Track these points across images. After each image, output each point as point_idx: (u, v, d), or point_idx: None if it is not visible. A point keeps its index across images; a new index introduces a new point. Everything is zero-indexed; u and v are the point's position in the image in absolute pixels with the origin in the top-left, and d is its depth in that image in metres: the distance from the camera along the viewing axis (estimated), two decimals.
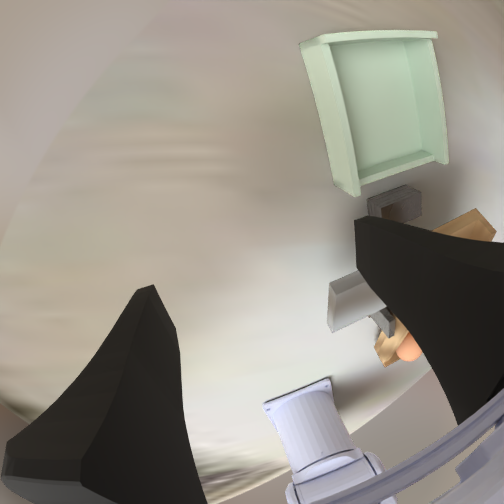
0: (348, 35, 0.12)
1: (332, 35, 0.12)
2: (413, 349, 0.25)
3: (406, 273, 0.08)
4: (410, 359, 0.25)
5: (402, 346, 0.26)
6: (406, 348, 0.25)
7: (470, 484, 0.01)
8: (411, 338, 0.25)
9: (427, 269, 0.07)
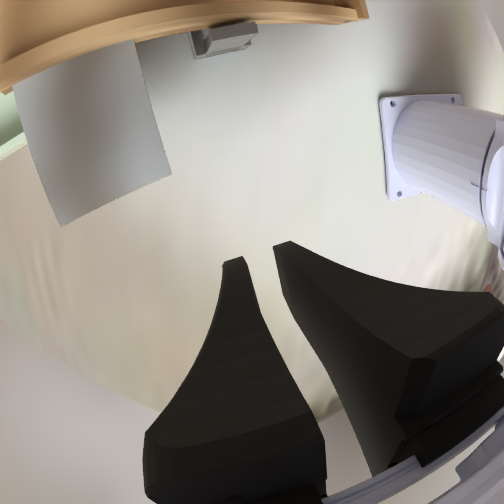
0: None
1: None
2: None
3: (313, 311, 0.08)
4: None
5: None
6: None
7: (470, 484, 0.01)
8: None
9: (326, 312, 0.07)
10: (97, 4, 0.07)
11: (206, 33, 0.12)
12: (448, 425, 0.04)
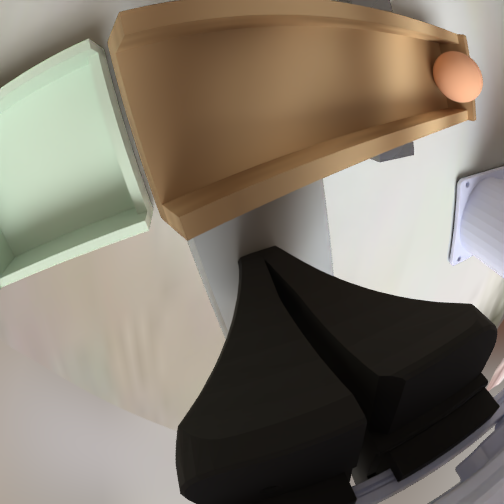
0: None
1: None
2: (462, 83, 0.10)
3: (295, 318, 0.08)
4: (477, 91, 0.11)
5: (450, 95, 0.12)
6: (456, 92, 0.11)
7: (470, 484, 0.01)
8: (442, 76, 0.11)
9: (305, 320, 0.07)
10: (283, 105, 0.08)
11: None
12: (425, 440, 0.04)
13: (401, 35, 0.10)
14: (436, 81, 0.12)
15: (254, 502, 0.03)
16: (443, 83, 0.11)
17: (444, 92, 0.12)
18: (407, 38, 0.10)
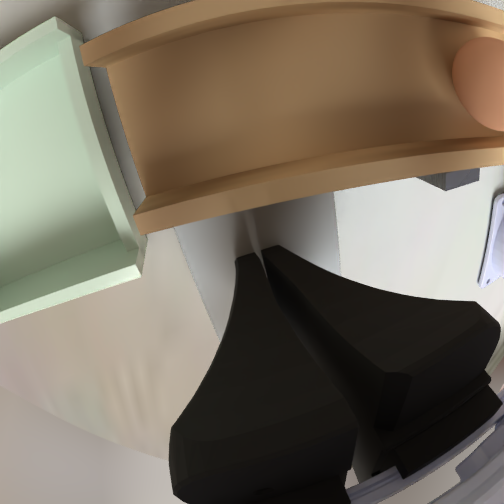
0: None
1: None
2: None
3: (299, 317, 0.08)
4: None
5: None
6: None
7: (470, 484, 0.01)
8: None
9: (309, 319, 0.07)
10: (281, 109, 0.08)
11: None
12: (430, 437, 0.04)
13: (483, 28, 0.06)
14: None
15: (248, 503, 0.03)
16: None
17: None
18: (494, 34, 0.06)
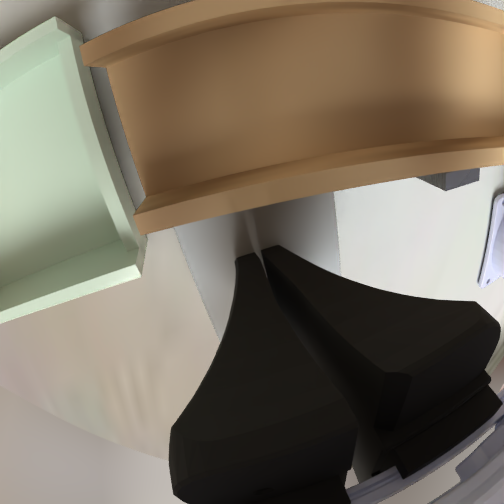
0: None
1: None
2: None
3: (299, 317, 0.08)
4: None
5: None
6: None
7: (470, 484, 0.01)
8: None
9: (309, 319, 0.07)
10: (281, 109, 0.08)
11: None
12: (430, 437, 0.04)
13: (483, 28, 0.06)
14: None
15: (248, 503, 0.03)
16: None
17: None
18: (494, 34, 0.06)
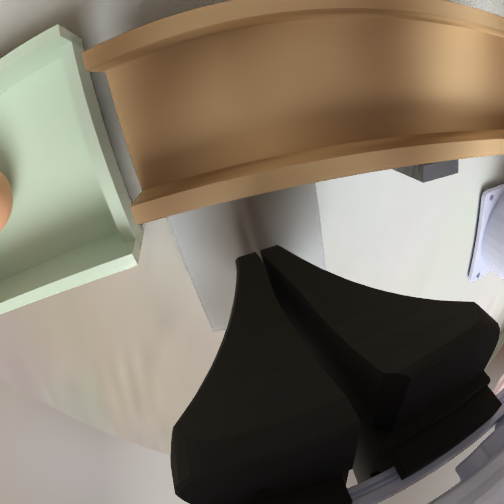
0: None
1: None
2: None
3: (298, 317, 0.08)
4: (12, 203, 0.09)
5: None
6: None
7: (470, 484, 0.01)
8: None
9: (308, 319, 0.07)
10: (265, 109, 0.08)
11: None
12: (429, 438, 0.04)
13: (462, 27, 0.06)
14: None
15: (250, 503, 0.03)
16: None
17: None
18: (472, 32, 0.06)
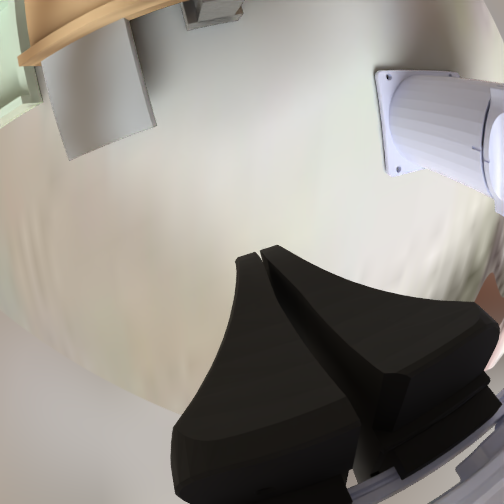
0: None
1: None
2: None
3: (298, 317, 0.08)
4: None
5: None
6: None
7: (470, 484, 0.01)
8: None
9: (308, 319, 0.07)
10: None
11: (197, 1, 0.11)
12: (429, 438, 0.04)
13: None
14: None
15: (249, 503, 0.03)
16: None
17: None
18: None
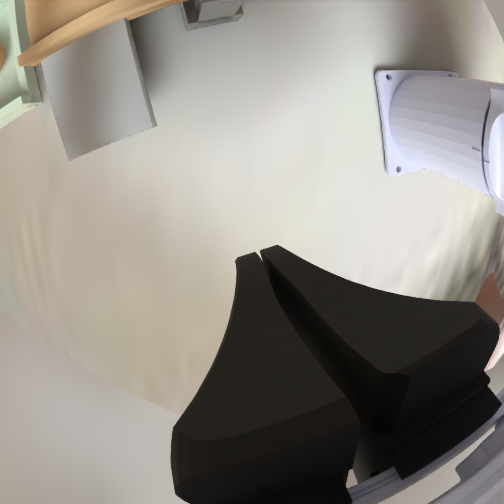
0: None
1: None
2: None
3: (298, 317, 0.08)
4: None
5: None
6: None
7: (470, 484, 0.01)
8: None
9: (308, 319, 0.07)
10: None
11: (197, 1, 0.11)
12: (429, 438, 0.04)
13: None
14: (4, 56, 0.10)
15: (249, 503, 0.03)
16: (3, 61, 0.10)
17: (1, 67, 0.10)
18: None
